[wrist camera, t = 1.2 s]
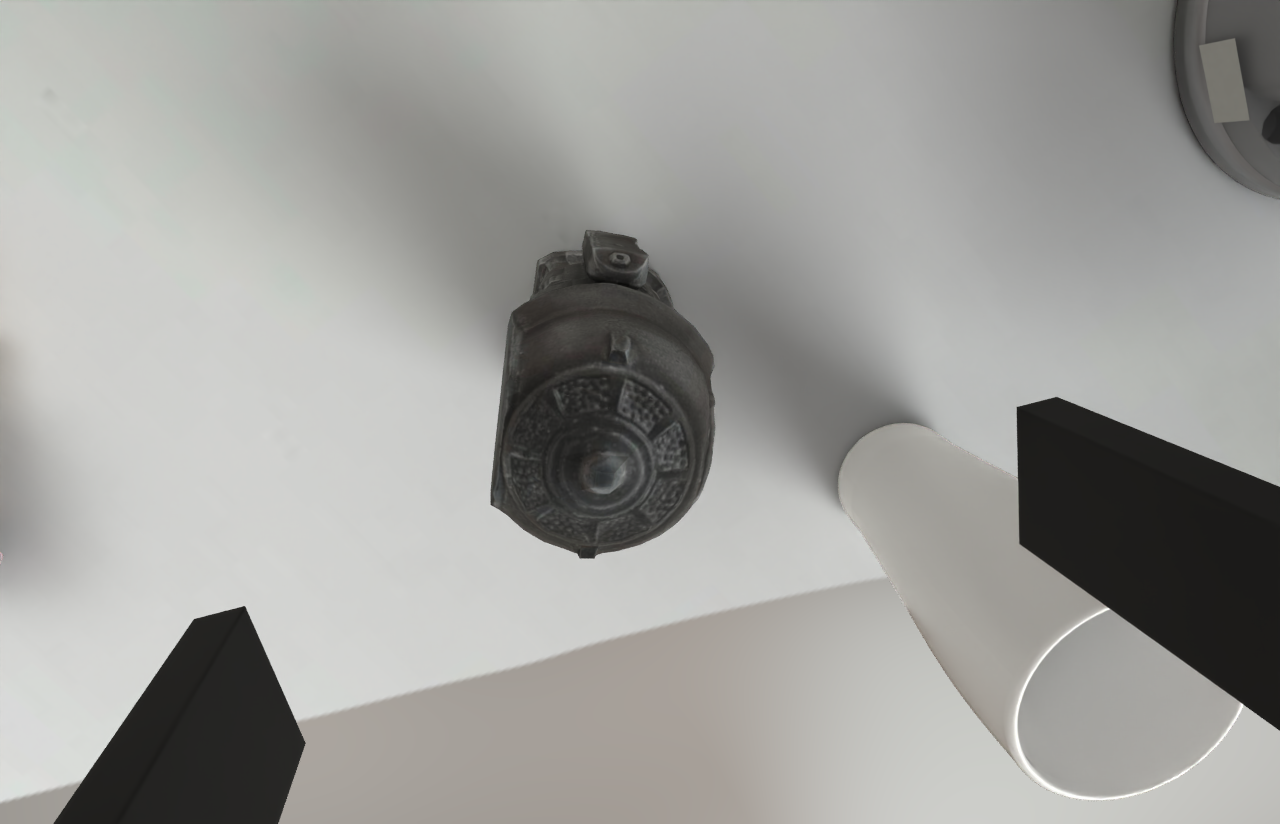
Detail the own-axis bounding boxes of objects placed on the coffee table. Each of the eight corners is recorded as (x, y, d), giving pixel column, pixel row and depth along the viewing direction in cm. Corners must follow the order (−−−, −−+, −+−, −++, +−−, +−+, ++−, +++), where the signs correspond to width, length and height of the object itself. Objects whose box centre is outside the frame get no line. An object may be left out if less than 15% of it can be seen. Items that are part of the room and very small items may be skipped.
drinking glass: (791, 453, 32) (965, 674, 18) (928, 374, 32) (1220, 537, 17) (856, 567, 34) (1057, 845, 20) (986, 494, 34) (1287, 728, 20)
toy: (646, 439, 31) (709, 658, 17) (509, 419, 31) (457, 632, 16) (686, 239, 29) (797, 304, 15) (538, 212, 28) (506, 253, 14)
